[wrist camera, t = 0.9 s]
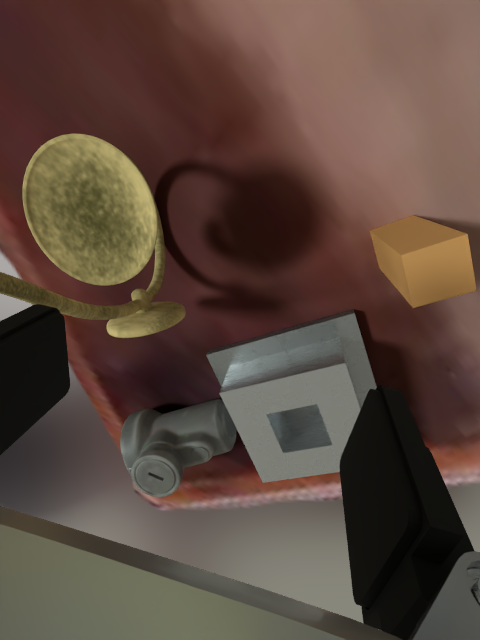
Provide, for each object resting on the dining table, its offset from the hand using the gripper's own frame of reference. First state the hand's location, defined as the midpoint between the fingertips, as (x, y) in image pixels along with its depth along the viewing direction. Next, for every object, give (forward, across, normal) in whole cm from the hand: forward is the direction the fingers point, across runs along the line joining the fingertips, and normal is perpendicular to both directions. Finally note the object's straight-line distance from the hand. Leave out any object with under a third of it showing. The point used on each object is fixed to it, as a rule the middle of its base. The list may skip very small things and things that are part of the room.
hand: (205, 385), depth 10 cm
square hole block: (+23, -6, +16) cm, 29 cm away
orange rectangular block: (+23, -10, -2) cm, 26 cm away
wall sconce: (+23, +11, +1) cm, 26 cm away
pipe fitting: (+23, +6, +23) cm, 33 cm away
